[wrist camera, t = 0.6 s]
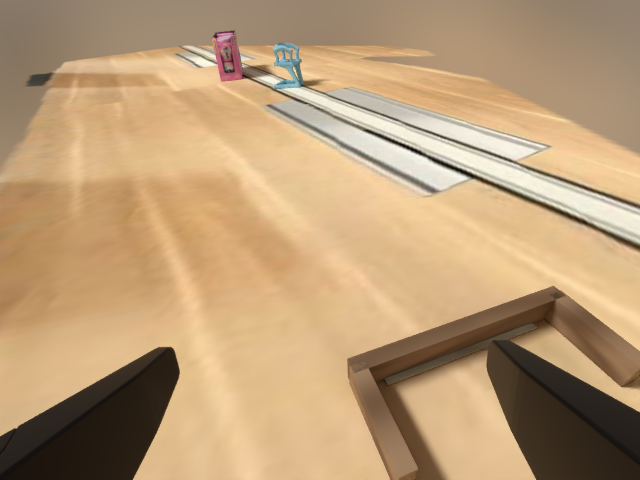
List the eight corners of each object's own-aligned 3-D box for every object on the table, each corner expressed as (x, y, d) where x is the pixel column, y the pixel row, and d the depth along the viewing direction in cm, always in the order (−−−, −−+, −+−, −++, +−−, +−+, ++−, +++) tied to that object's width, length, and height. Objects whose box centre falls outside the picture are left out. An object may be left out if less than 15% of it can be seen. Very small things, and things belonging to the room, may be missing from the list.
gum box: (242, 80, 115) (234, 35, 107) (220, 82, 115) (210, 38, 106) (242, 68, 134) (235, 30, 126) (223, 70, 133) (215, 32, 125)
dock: (633, 381, 23) (653, 361, 21) (395, 491, 19) (399, 478, 17) (543, 304, 29) (554, 285, 27) (346, 377, 25) (346, 359, 23)
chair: (297, 89, 99) (293, 44, 91) (273, 88, 101) (267, 44, 94) (306, 83, 104) (303, 40, 97) (284, 82, 107) (279, 40, 100)
